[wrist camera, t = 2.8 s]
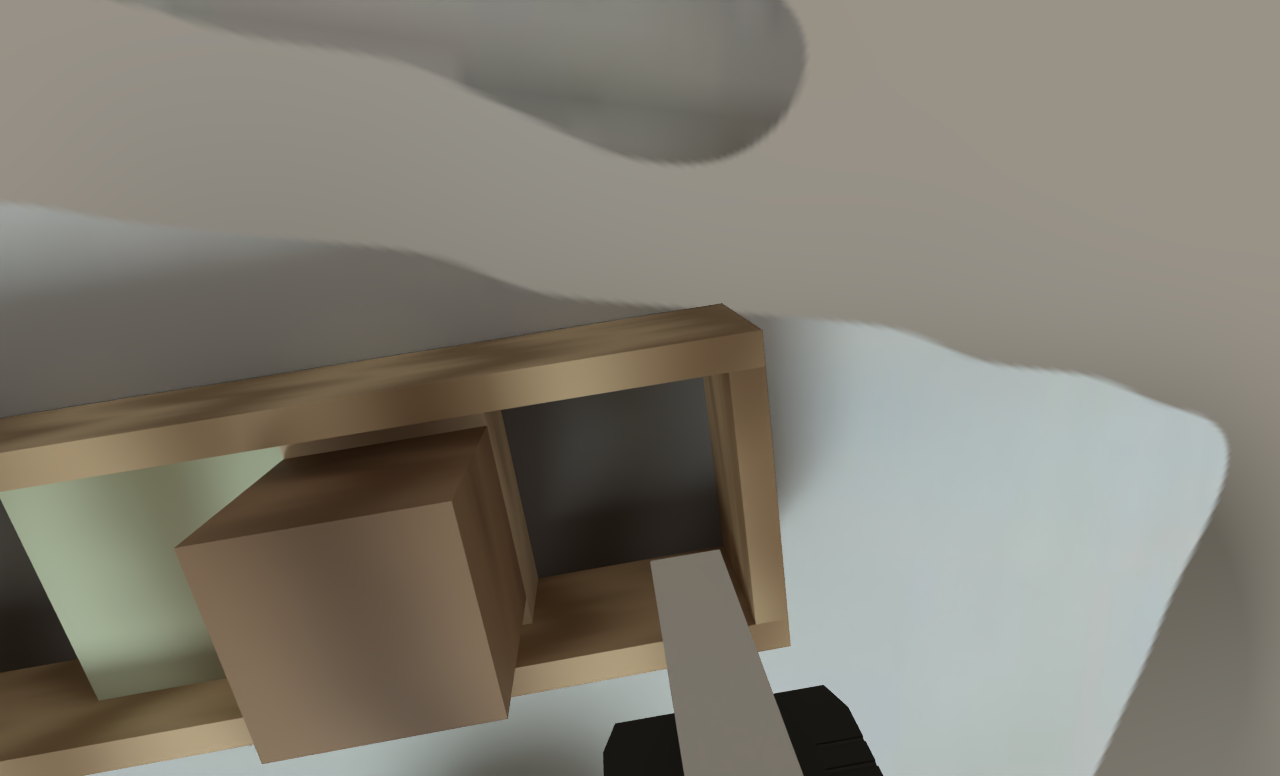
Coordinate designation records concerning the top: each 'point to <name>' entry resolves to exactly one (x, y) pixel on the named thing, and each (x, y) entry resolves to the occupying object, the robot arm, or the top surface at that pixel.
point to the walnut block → (364, 594)
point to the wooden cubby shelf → (359, 416)
